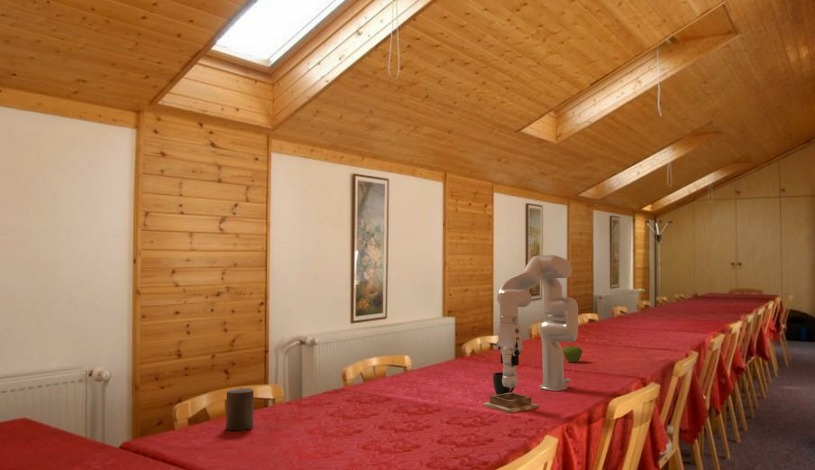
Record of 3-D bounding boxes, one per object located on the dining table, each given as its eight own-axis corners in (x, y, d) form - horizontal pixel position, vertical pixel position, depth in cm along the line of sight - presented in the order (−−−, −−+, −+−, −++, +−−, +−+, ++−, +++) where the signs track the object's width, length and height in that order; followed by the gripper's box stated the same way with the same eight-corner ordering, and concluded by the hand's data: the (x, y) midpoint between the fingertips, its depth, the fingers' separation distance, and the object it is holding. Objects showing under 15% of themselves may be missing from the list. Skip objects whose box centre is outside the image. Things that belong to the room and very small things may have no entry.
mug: (508, 399, 267) (508, 377, 268) (489, 395, 277) (489, 373, 277) (522, 397, 272) (521, 375, 272) (502, 392, 282) (502, 371, 282)
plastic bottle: (519, 386, 258) (518, 337, 258) (516, 389, 251) (515, 339, 252) (503, 385, 260) (502, 337, 261) (500, 388, 253) (499, 339, 254)
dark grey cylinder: (239, 432, 221) (239, 390, 222) (220, 429, 226) (220, 387, 227) (259, 426, 229) (259, 385, 230) (240, 423, 234) (241, 383, 235)
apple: (564, 363, 358) (563, 346, 358) (562, 360, 368) (562, 343, 369) (583, 363, 356) (582, 346, 356) (581, 360, 366) (580, 343, 367)
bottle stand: (512, 400, 266) (512, 390, 266) (538, 407, 252) (538, 397, 253) (483, 405, 258) (483, 395, 258) (508, 413, 244) (508, 402, 244)
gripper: (530, 321, 251) (531, 366, 250) (502, 318, 266) (503, 360, 265) (516, 322, 247) (516, 368, 246) (488, 319, 262) (489, 362, 261)
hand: (509, 363), depth 256 cm, fingers closed on plastic bottle, 6 cm apart
